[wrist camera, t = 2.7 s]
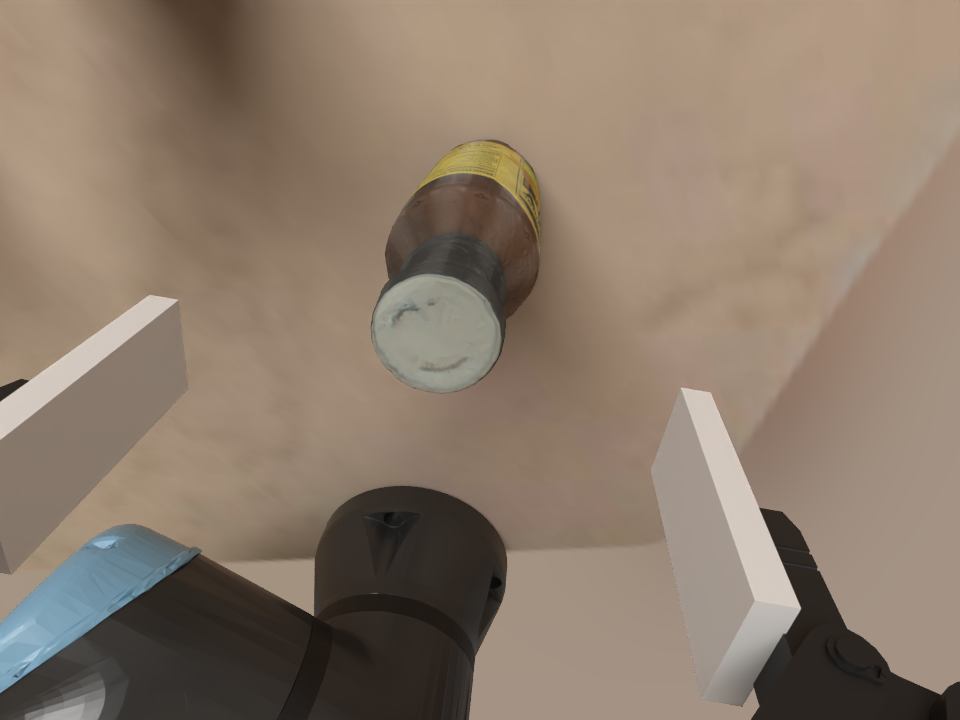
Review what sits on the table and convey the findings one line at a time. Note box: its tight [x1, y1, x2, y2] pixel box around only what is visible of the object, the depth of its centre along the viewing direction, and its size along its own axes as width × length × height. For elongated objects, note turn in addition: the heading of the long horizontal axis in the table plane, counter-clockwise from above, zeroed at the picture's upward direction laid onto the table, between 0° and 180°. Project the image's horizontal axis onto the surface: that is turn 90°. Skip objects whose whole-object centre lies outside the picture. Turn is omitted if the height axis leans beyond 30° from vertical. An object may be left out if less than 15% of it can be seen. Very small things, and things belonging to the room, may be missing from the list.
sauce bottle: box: [371, 140, 540, 394], centre depth 27 cm, size 6×6×20 cm
